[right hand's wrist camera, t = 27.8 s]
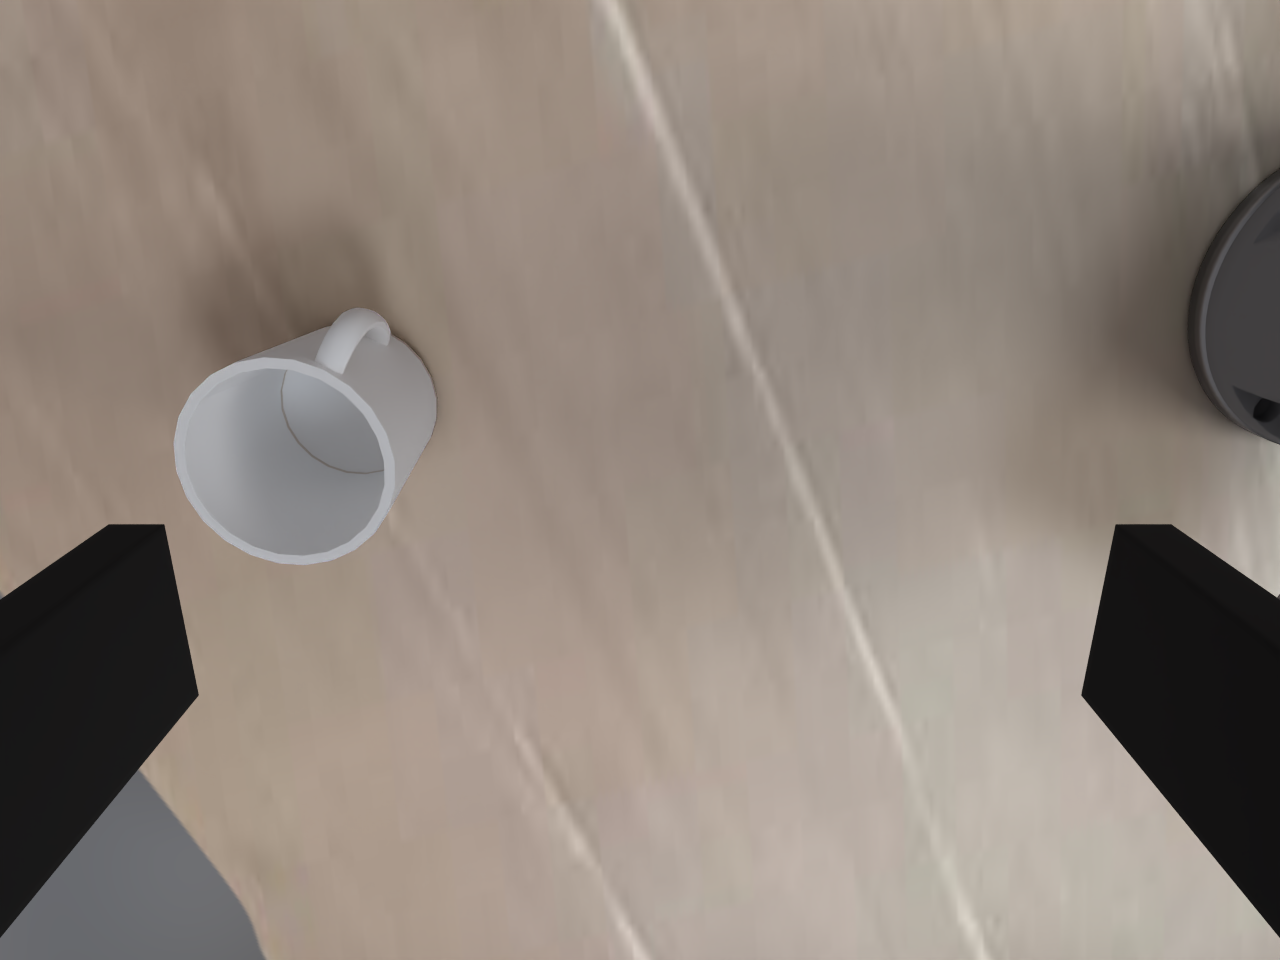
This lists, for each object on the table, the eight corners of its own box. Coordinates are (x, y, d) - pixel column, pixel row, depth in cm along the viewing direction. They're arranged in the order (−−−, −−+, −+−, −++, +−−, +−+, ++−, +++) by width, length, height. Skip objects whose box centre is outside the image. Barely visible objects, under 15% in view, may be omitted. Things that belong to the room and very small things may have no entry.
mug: (408, 508, 48) (349, 598, 38) (249, 435, 46) (146, 509, 36) (491, 326, 44) (449, 374, 35) (322, 242, 43) (229, 267, 33)
